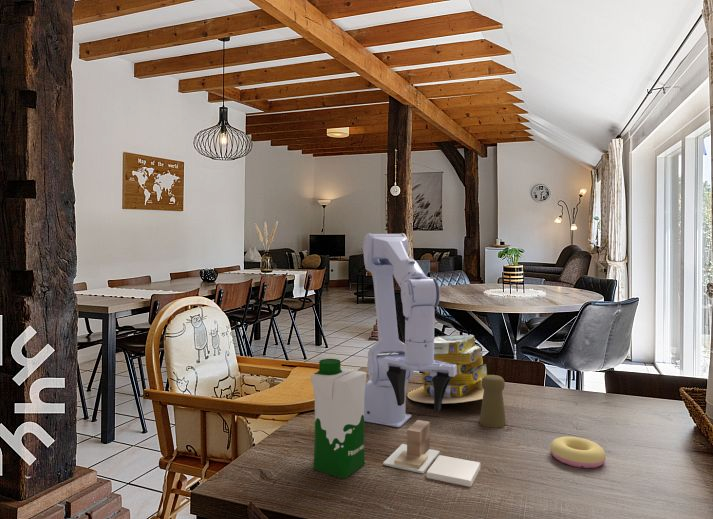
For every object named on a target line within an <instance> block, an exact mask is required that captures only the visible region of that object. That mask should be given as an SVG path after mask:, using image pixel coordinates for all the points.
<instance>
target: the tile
mask: <svg viewBox="0 0 713 519" xmlns="http://www.w3.org/2000/svg"><path fill="white" fill-rule="evenodd" d="M431 464H432V465H431ZM431 464H430V465H431V466H429V467H428V470H426V478H427V479H429V480H430V479H431V480H436V481H441V482H445V483H450V484H455V485H460V486H464V487H468V488H472V485H473V484H474V482H475V479H476V478H477V476H478V473H479V472H480V470H481V467H482V466H481V462H480V461H474V460H468V459H463V458H457V457H452V456H448V455H442V454H441V455H440V454H438V455H437V457H436V458H435V459H434V460H433V462H432V463H431Z"/></svg>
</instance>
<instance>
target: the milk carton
mask: <svg viewBox="0 0 713 519" xmlns="http://www.w3.org/2000/svg"><path fill="white" fill-rule="evenodd" d="M318 369H319V370H317V372H314V373H313V374H311V375H310V381H311V385H312V386H311V387H312V392H313V395H314V448H313V449H314V450H313V451H314V452H313V468H312V469H313V470H315V471H318V472H321V473H325V474H327V475H330V476H331V475H332V476H334V477H337V478H341V479H343V480H345V479H346V478H348V477H349V476H351V475H352V474H353V473H355V472H357V471H358V470H359V469H360V468H362V467H363V466H364V465H365V421H364V394H365V385H366V383H367V375H368V371H367V372H366V371H361V370H357V369H353V368H346V367H342V366H341V360H340V359H338V358H324V359H320V360H319V363H318Z"/></svg>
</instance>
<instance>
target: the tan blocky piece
mask: <svg viewBox="0 0 713 519" xmlns="http://www.w3.org/2000/svg"><path fill="white" fill-rule="evenodd" d="M430 426H431V422H430V421H426V420H421V419H417V420H416V421H415V422H414V423H413V424H412V425H411V426H409V427H408V428H407V429H406V445H407V451H403V452H402V453H401V454H400V455H399V456H398V457H397V458H396V459H395V460H394V463H395V464H399V465H404V466H409V467H414V468H418V469H420V467H421V466H422V465H423V464H424V463H425V461H426V460H427V459H428V455H424V454H425V453H426V452H427V451H428V450H429V449H431V448H430V443H431V442H430V438H431V436H430V434H431V432H430V431H431V430H430V429H431V428H430Z"/></svg>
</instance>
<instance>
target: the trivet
mask: <svg viewBox="0 0 713 519" xmlns="http://www.w3.org/2000/svg"><path fill="white" fill-rule="evenodd" d="M403 451H407V443H401V444H400V445H399V446H398V448H396V449H395V450H394V451H393V452H392V453H391V454H390V456H389V457H387V458H386V459H385V460H384V461H383V463H382V465H383V466H387V467H391V468H396V469H399V470H405V471H409V472H414V473H418V474H424V473H425V472H427V469H429V468H430V465H431V464H433V463H434V461H435V460H436V459H437V457H438V456H439V455H440V453H441V452H440V450H436V449H431V448H430V449H429V450H428V451H427V452H426V453H425V454H424V455H428V459H427V460H426V461H425V463H424V464H423V465H422V466H421V467H420V469H418V468H414V467H409V466H404V465H399V464H395V463H394V460H395V459H396V458H397V457H398V456H399V455H400V454H401V453H402V452H403Z"/></svg>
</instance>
